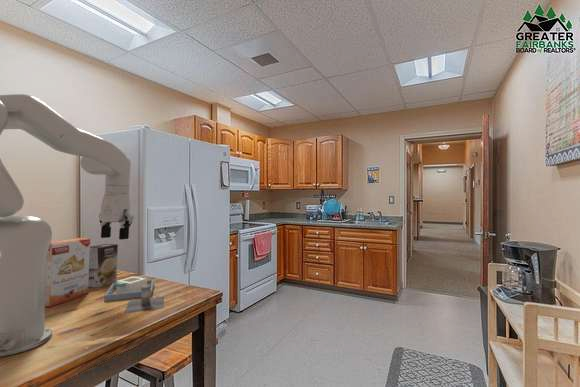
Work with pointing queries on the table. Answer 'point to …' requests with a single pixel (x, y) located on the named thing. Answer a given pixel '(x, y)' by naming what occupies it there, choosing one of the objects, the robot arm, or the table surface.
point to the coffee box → (102, 265)
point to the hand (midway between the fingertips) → (114, 238)
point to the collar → (130, 284)
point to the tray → (128, 295)
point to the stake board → (143, 308)
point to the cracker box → (67, 270)
